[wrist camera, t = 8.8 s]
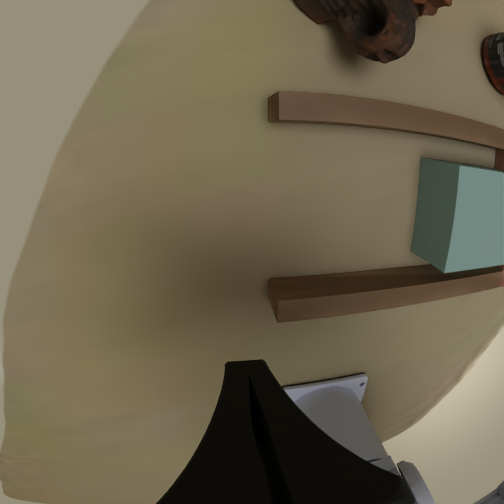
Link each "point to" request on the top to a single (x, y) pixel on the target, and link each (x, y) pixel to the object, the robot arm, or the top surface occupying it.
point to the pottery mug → (374, 23)
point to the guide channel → (385, 280)
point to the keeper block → (459, 216)
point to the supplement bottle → (495, 59)
